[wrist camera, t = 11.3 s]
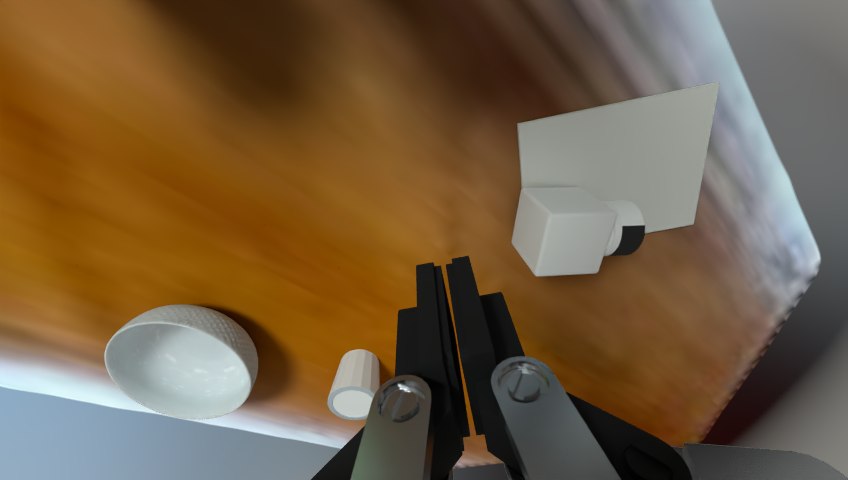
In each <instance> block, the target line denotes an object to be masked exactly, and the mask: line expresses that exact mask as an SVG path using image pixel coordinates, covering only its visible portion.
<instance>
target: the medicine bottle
mask: <svg viewBox="0 0 848 480" xmlns="http://www.w3.org/2000/svg"><path fill="white" fill-rule="evenodd" d="M644 235H645V221H644V217H643V215H642V213H641V211H640V209H639V208H638V207H637V206H636V205H635V204H634V203H632V202H630V201H626V200H616V201H599V200H598V199H596V198H595V197H593V196H592V195H591V194H589V193H588V192H586V191H585V190H583V189H582V188H580V187H555V188H523V189H522V190H521V193H520V199H519V204H518V209H517V215H516V220H515V225H514V231H513V236H512V242H511V243H512V245H513V246H514V247H515V249H516V250H517V252H518V253H519V254H520V256H521V257H522V258H523V260H524V261H525V263H526V264H527V265H528V267H529V268H530V269H531V271H532V272H533V273H534V275H535V276H556V275H575V274H594V273H597V272H598V271H599V268H600V265H601V262H602V259H603V256H616V255H629V254H632V253H633V252H635V251H636V250H637V249H638V247H639V246H640V245H641V243H642V241H643V238H644Z"/></svg>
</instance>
